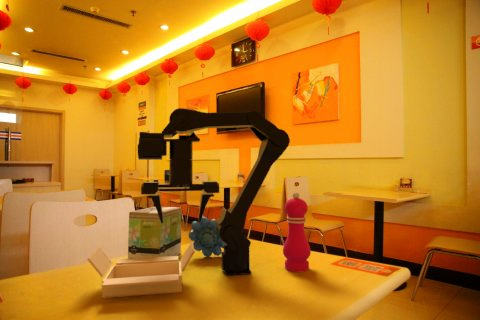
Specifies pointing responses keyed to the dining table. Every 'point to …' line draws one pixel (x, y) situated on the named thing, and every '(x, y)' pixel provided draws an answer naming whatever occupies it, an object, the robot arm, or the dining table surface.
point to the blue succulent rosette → (206, 237)
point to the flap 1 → (100, 261)
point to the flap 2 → (187, 256)
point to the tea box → (154, 233)
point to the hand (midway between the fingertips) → (181, 222)
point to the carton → (143, 277)
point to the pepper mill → (296, 236)
